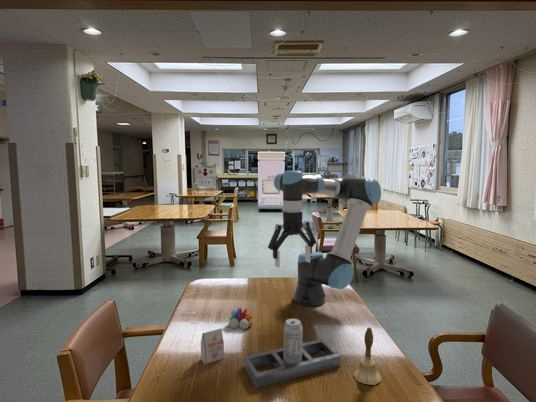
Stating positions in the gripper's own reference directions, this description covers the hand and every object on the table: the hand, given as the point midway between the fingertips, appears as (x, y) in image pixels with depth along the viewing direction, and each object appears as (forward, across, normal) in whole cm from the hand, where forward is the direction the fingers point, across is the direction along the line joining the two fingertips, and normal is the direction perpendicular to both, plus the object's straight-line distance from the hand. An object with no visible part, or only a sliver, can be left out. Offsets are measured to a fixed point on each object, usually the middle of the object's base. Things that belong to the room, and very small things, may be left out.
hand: (292, 264), depth 135 cm
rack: (+26, +13, +24) cm, 37 cm away
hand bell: (+26, -6, +38) cm, 47 cm away
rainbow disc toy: (+26, +19, -10) cm, 34 cm away
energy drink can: (+26, +13, +24) cm, 37 cm away
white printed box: (+26, +36, +9) cm, 45 cm away
